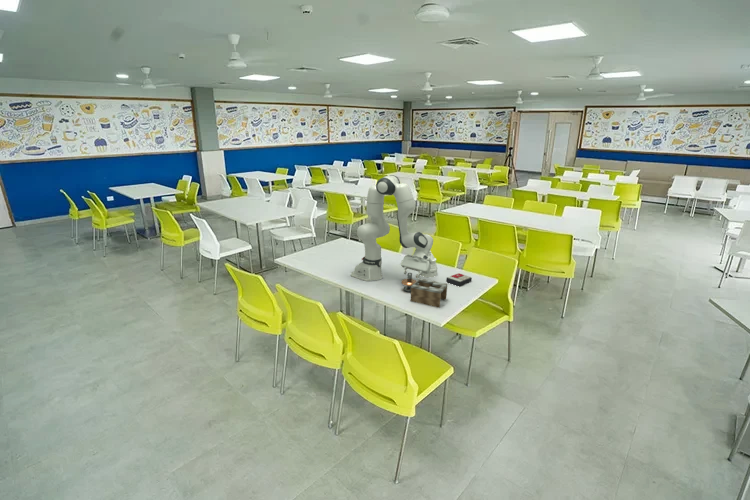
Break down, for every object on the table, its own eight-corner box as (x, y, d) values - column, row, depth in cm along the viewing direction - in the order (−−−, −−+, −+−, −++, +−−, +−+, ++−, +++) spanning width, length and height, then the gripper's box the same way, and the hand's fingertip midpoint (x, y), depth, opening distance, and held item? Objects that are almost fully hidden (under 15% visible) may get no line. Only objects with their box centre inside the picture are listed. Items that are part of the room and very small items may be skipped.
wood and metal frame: (410, 301, 230) (411, 285, 227) (418, 292, 242) (419, 278, 239) (439, 307, 222) (440, 291, 219) (446, 298, 234) (447, 283, 231)
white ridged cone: (436, 278, 267) (438, 253, 262) (418, 276, 270) (419, 252, 264) (437, 272, 279) (439, 248, 274) (419, 270, 282) (421, 247, 276)
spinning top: (398, 291, 244) (399, 274, 240) (404, 286, 252) (405, 269, 249) (413, 294, 239) (414, 277, 236) (418, 289, 248) (420, 272, 245)
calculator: (472, 276, 263) (460, 281, 252) (471, 282, 264) (459, 287, 253) (458, 272, 270) (446, 276, 260) (457, 278, 271) (445, 282, 261)
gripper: (404, 251, 252) (395, 269, 247) (431, 258, 240) (423, 276, 236) (407, 256, 257) (398, 274, 252) (434, 263, 245) (426, 281, 240)
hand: (410, 275), depth 244 cm, fingers open, 8 cm apart
